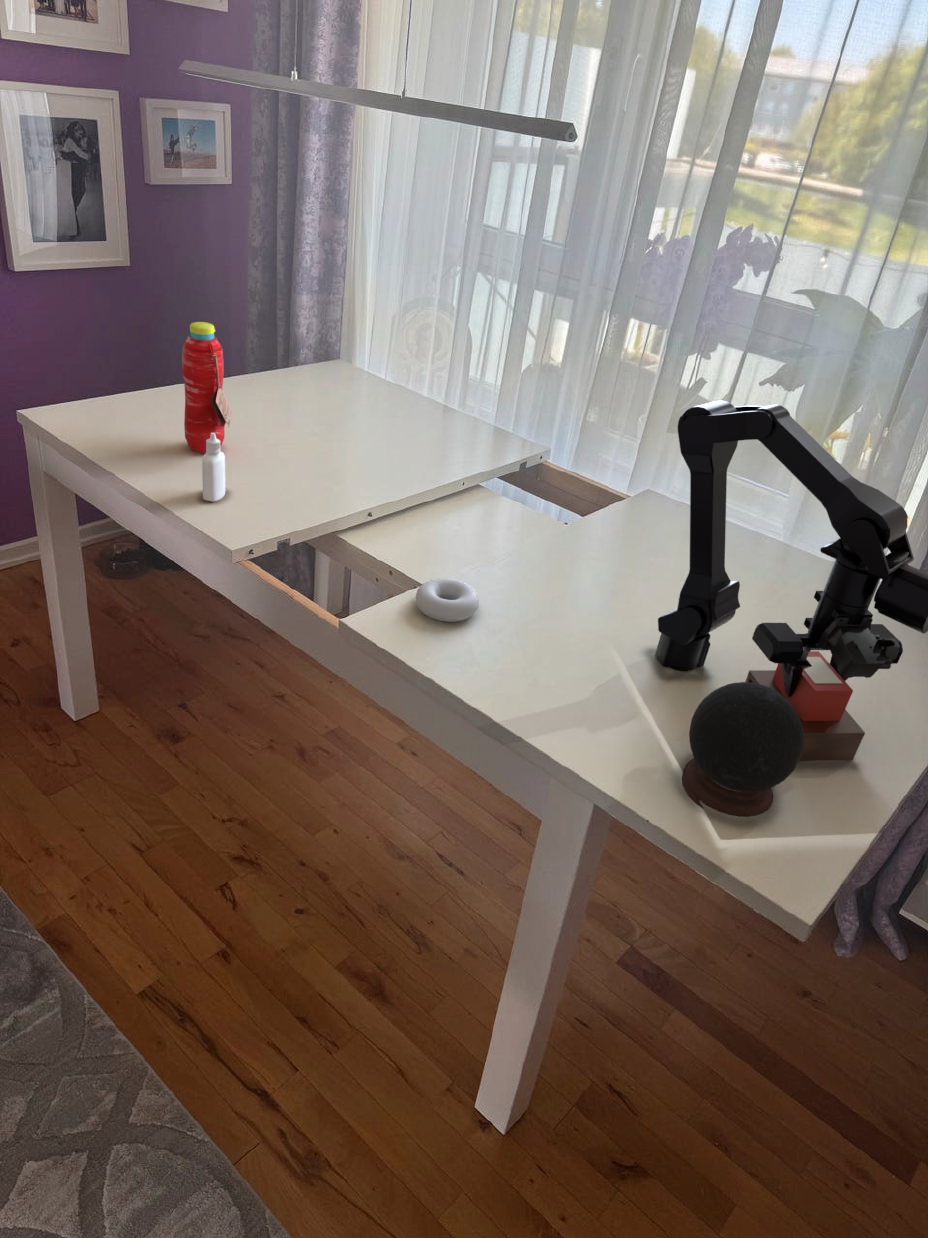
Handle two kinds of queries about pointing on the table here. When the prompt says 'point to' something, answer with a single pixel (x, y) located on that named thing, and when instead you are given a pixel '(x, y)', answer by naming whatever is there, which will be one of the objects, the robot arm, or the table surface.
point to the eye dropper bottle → (213, 470)
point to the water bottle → (204, 387)
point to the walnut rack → (820, 730)
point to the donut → (458, 596)
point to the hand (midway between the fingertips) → (807, 694)
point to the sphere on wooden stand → (741, 748)
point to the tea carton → (817, 691)
